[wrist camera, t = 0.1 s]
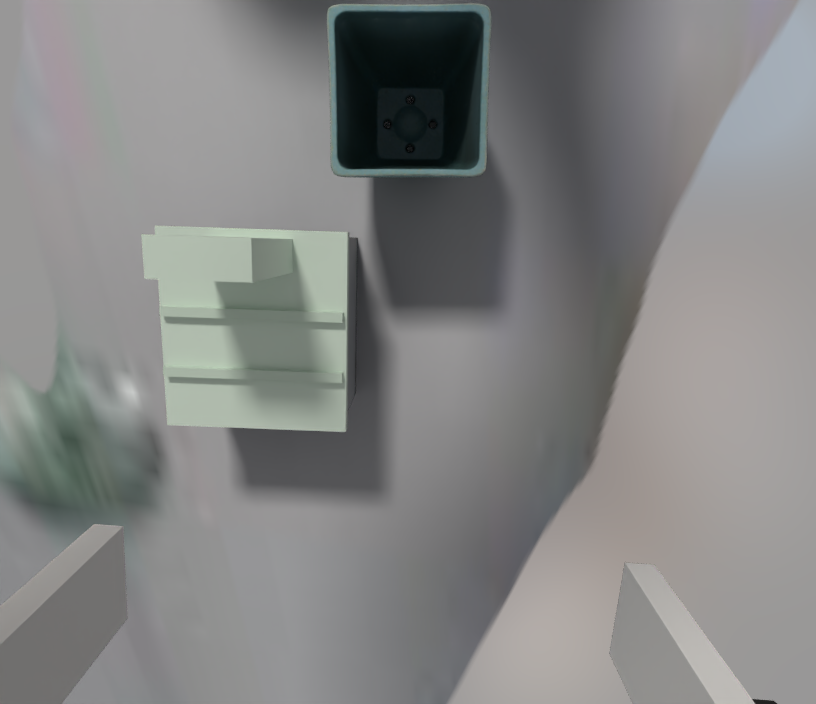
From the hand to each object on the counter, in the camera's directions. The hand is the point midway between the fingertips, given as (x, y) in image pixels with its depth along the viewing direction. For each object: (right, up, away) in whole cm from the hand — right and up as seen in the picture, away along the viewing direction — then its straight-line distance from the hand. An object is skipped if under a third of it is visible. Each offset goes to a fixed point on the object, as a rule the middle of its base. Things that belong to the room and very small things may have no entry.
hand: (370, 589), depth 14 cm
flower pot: (+1, +22, +24) cm, 33 cm away
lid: (-9, +8, +20) cm, 23 cm away
